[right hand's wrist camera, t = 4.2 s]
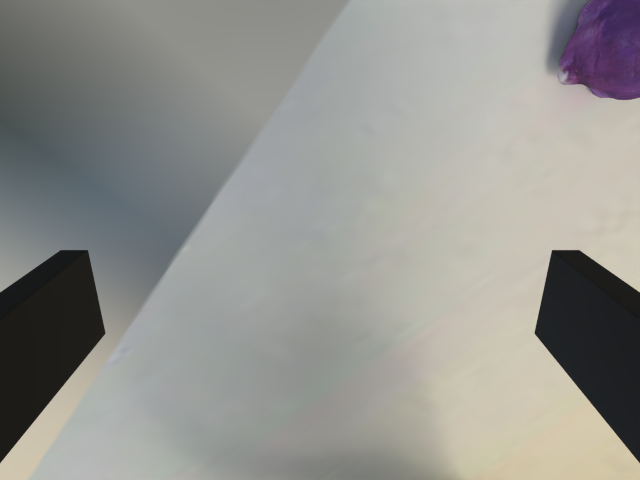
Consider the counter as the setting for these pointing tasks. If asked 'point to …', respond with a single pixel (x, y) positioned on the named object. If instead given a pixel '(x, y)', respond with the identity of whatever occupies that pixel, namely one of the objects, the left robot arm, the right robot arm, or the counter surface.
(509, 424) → the counter surface
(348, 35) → the counter surface
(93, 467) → the counter surface
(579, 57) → the figurine
